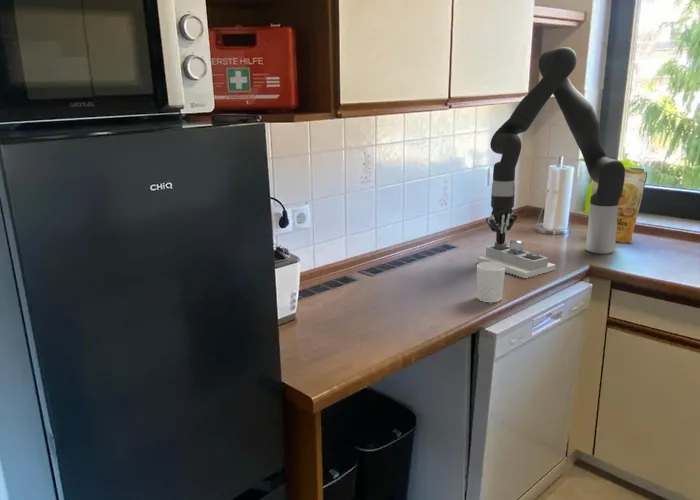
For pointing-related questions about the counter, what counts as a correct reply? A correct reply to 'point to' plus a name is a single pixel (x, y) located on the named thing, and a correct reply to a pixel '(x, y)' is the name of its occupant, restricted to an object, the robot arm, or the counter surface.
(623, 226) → the pancake mix bag
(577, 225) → the counter surface
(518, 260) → the panel
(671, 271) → the counter surface
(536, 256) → the charcoal knob
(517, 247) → the steel knob
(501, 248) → the charcoal knob
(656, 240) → the counter surface
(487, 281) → the white cup
